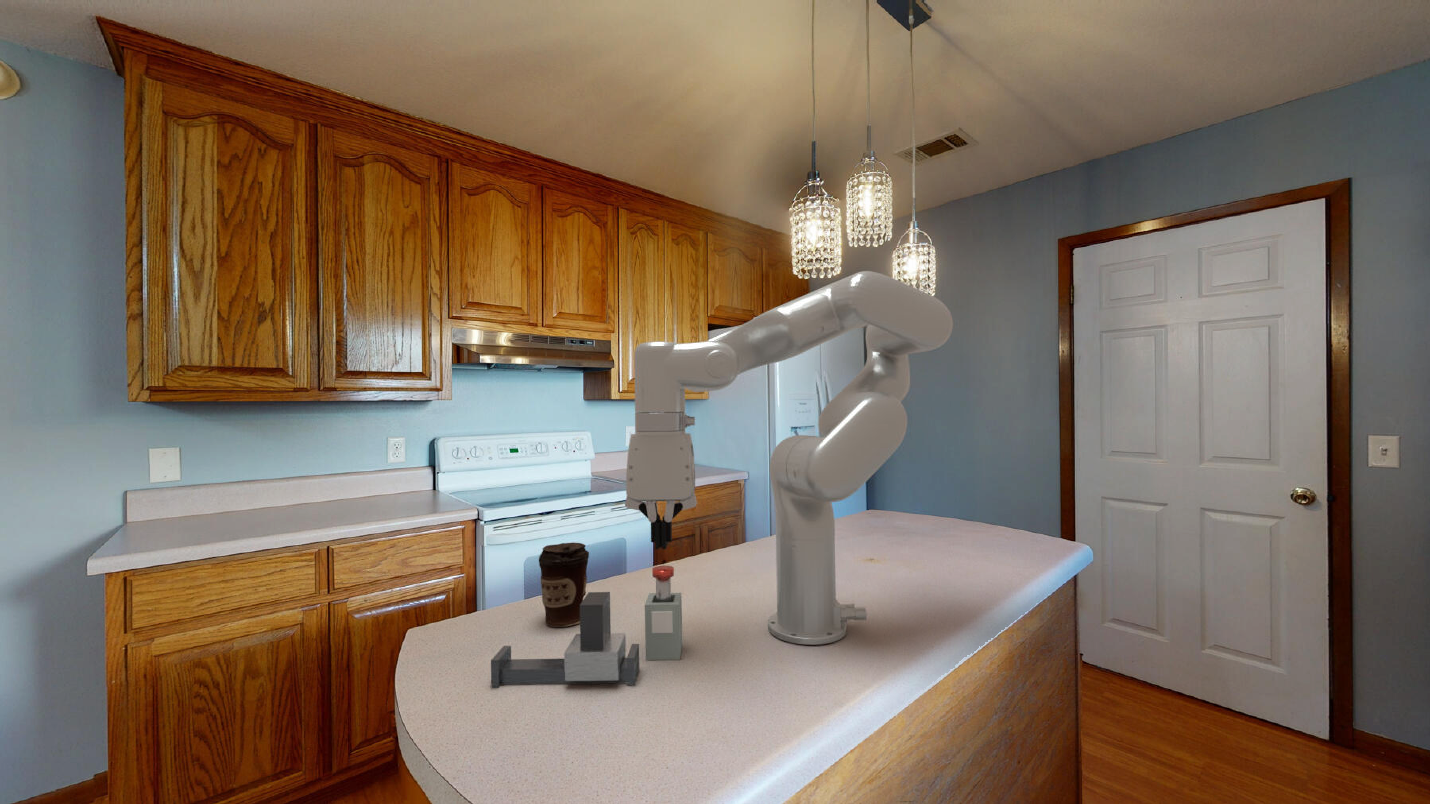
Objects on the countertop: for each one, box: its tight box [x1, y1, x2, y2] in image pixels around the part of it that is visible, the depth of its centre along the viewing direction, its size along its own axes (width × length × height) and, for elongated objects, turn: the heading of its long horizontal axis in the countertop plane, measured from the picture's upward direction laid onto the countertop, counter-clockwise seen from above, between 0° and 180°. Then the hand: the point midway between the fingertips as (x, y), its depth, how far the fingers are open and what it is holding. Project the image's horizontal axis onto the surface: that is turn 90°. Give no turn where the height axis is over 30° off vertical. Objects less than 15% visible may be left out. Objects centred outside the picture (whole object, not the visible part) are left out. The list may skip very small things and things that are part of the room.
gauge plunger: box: [651, 565, 675, 603], centre depth 82 cm, size 3×3×7 cm
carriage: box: [563, 591, 627, 681], centre depth 75 cm, size 7×6×10 cm
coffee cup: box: [538, 542, 590, 628], centre depth 95 cm, size 9×8×13 cm
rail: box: [490, 643, 640, 689], centre depth 75 cm, size 19×4×4 cm, turn 90°
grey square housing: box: [644, 592, 683, 661], centre depth 82 cm, size 5×5×8 cm
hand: (661, 546), depth 82 cm, fingers closed
